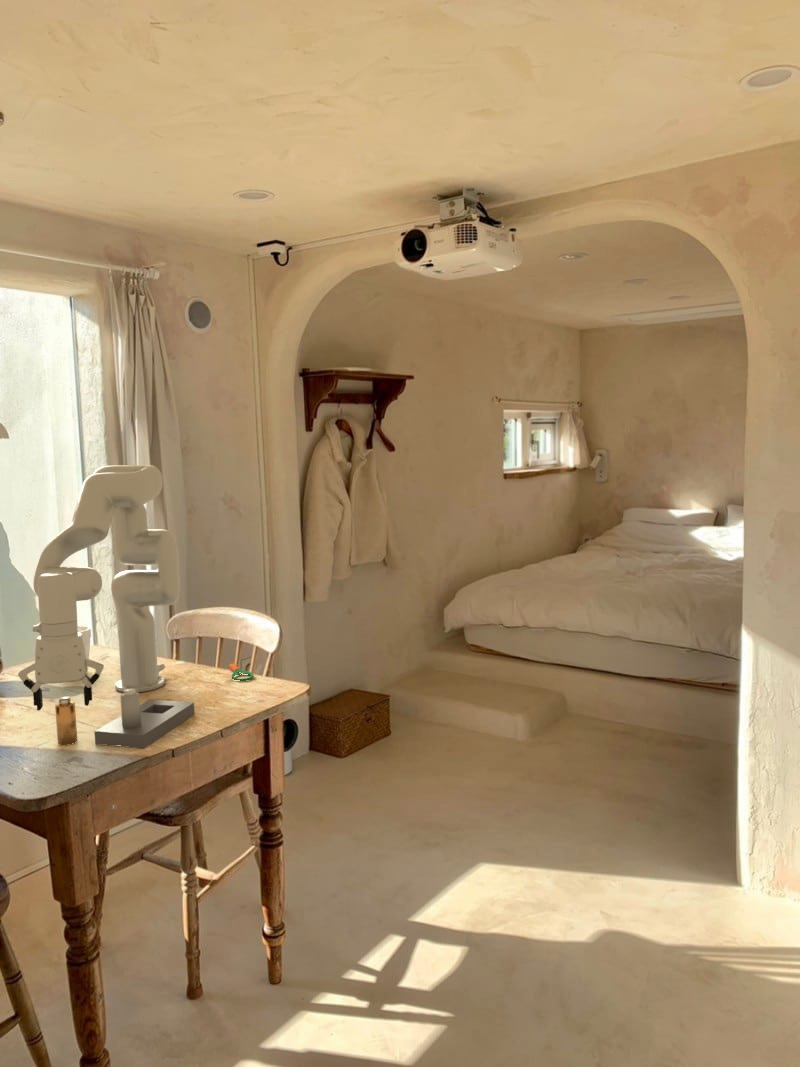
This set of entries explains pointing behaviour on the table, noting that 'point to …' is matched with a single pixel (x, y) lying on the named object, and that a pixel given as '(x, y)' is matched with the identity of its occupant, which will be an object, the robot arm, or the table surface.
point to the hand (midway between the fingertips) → (63, 706)
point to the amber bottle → (66, 721)
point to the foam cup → (85, 639)
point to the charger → (143, 721)
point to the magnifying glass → (236, 672)
